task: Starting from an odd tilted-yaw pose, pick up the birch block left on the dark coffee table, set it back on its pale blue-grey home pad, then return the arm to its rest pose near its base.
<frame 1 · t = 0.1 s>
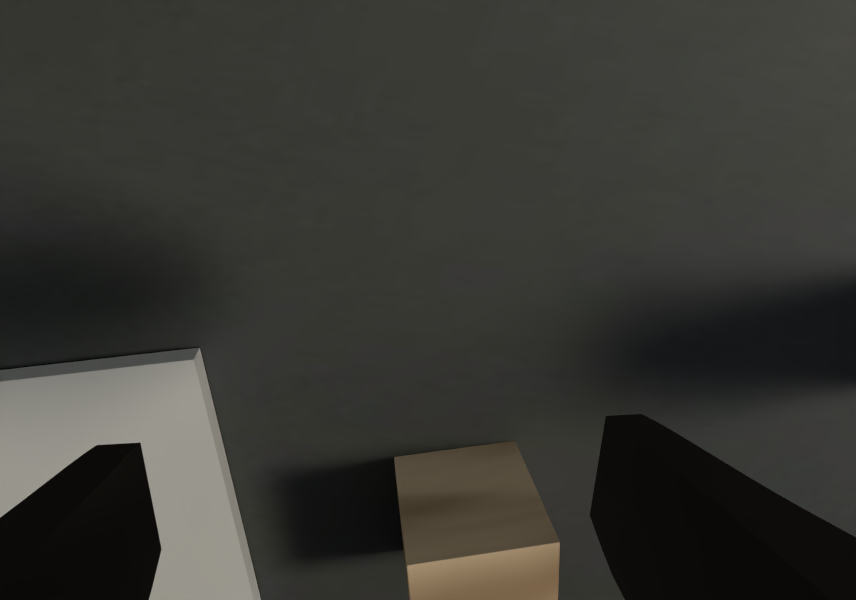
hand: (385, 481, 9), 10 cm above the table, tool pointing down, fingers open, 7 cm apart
birch block: (457, 496, 22), on the table
home pad: (59, 520, 20), on the table
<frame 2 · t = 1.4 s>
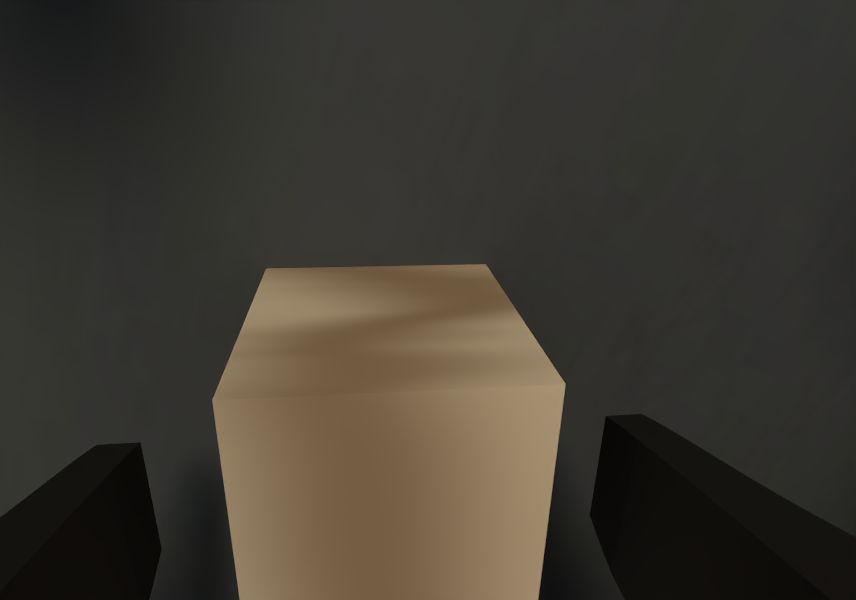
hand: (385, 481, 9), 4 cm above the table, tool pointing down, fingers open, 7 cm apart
birch block: (379, 362, 13), on the table
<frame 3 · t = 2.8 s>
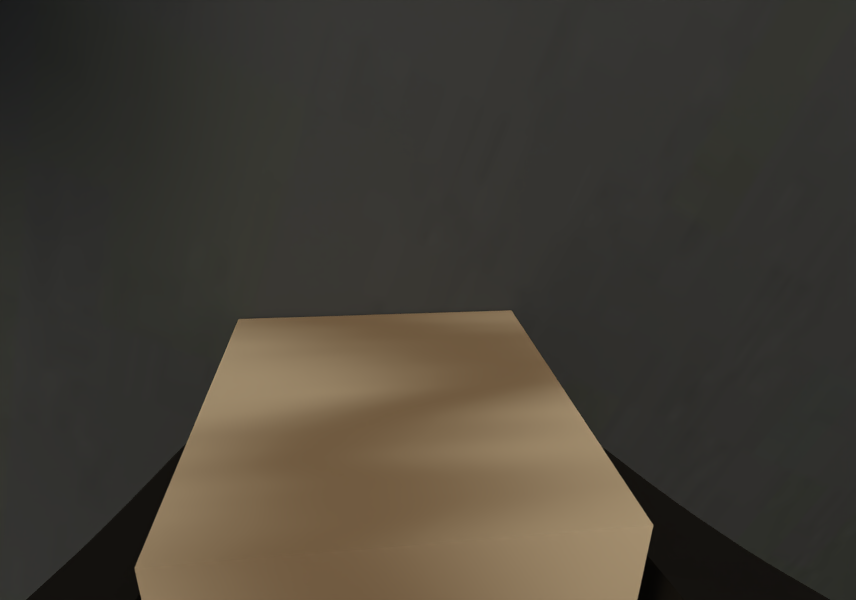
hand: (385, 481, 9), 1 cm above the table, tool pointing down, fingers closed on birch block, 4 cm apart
birch block: (380, 429, 10), on the table, touching gripper
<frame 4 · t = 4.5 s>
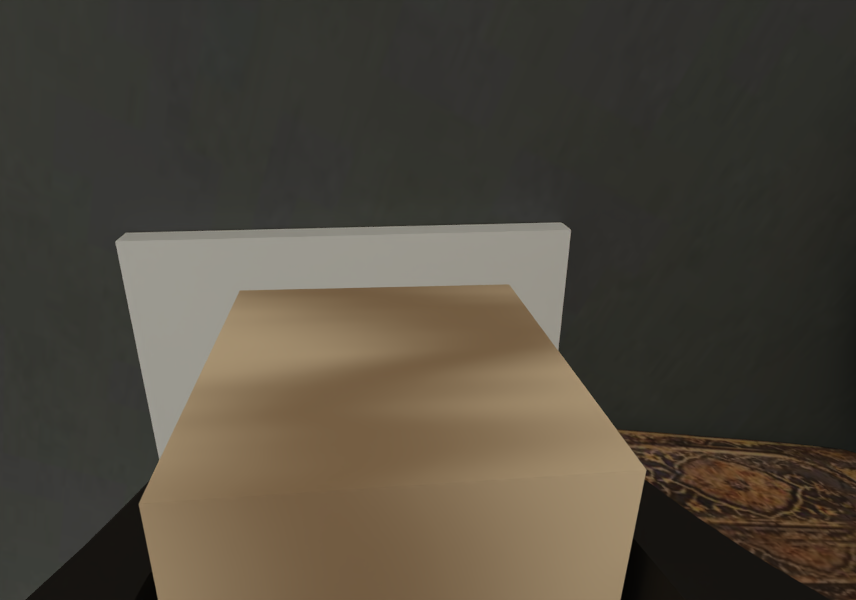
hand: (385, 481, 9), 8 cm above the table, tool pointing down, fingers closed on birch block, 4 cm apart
birch block: (379, 403, 11), point 7 cm above the table, touching gripper
book: (640, 494, 21), on the table, touching home pad
home pad: (360, 411, 18), on the table
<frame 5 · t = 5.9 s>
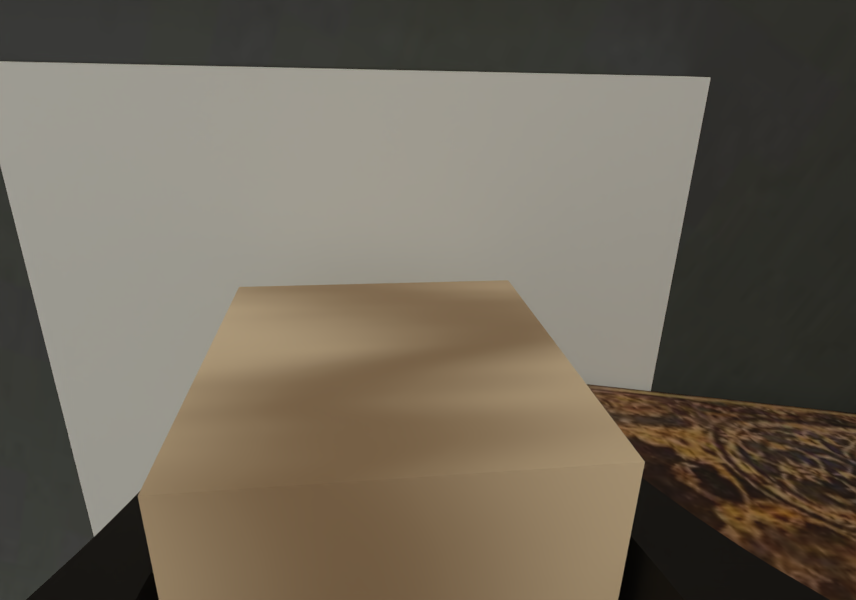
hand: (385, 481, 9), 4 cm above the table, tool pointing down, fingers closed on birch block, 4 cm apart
birch block: (378, 399, 11), point 2 cm above the table, touching gripper
book: (759, 494, 15), on the table, touching arm, home pad
home pad: (374, 368, 13), on the table
when the fingers open (4 cm above the table, at t = 6.6 s): birch block stays where it is, resting on book, home pad.
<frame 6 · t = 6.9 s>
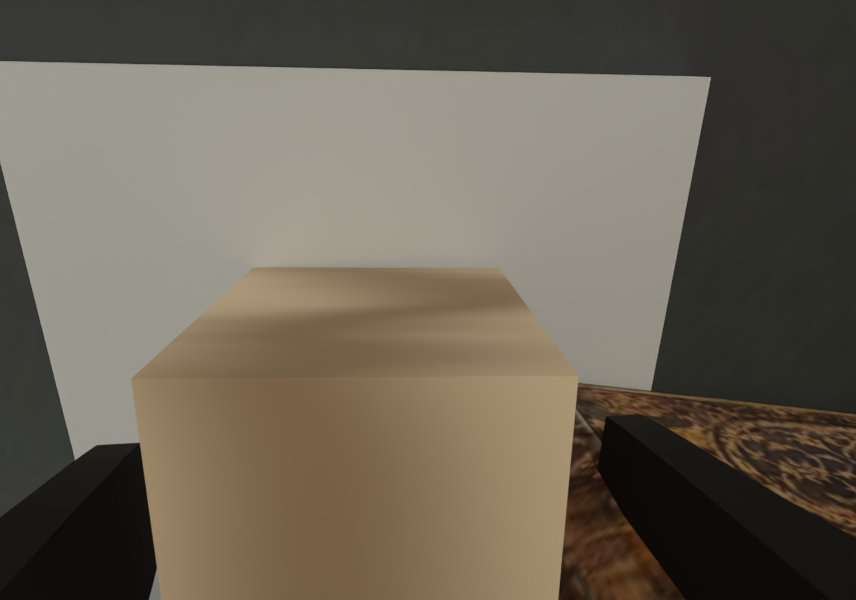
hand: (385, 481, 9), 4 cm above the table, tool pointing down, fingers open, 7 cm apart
birch block: (378, 380, 11), point 1 cm above the table, tilted 8°, touching book, home pad
book: (759, 493, 15), on the table, touching arm, birch block, home pad
home pad: (374, 367, 13), on the table
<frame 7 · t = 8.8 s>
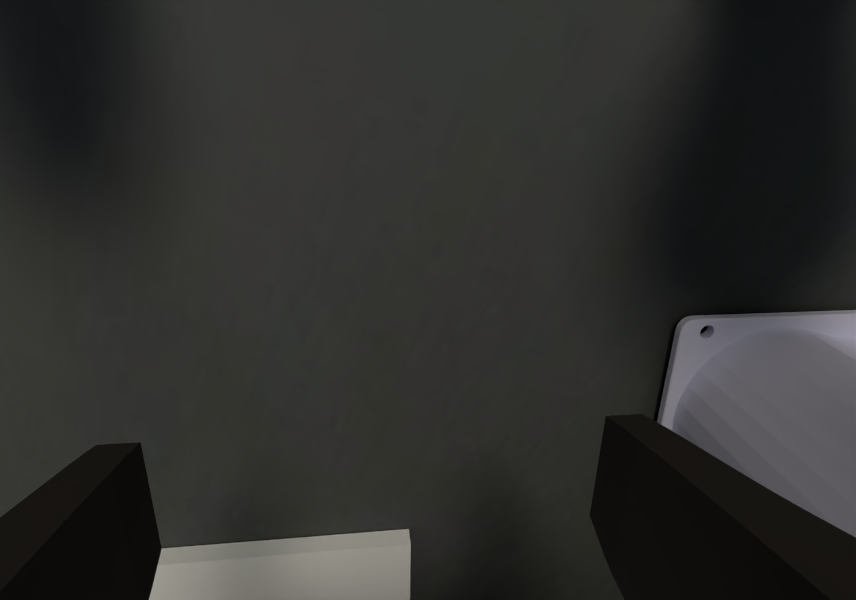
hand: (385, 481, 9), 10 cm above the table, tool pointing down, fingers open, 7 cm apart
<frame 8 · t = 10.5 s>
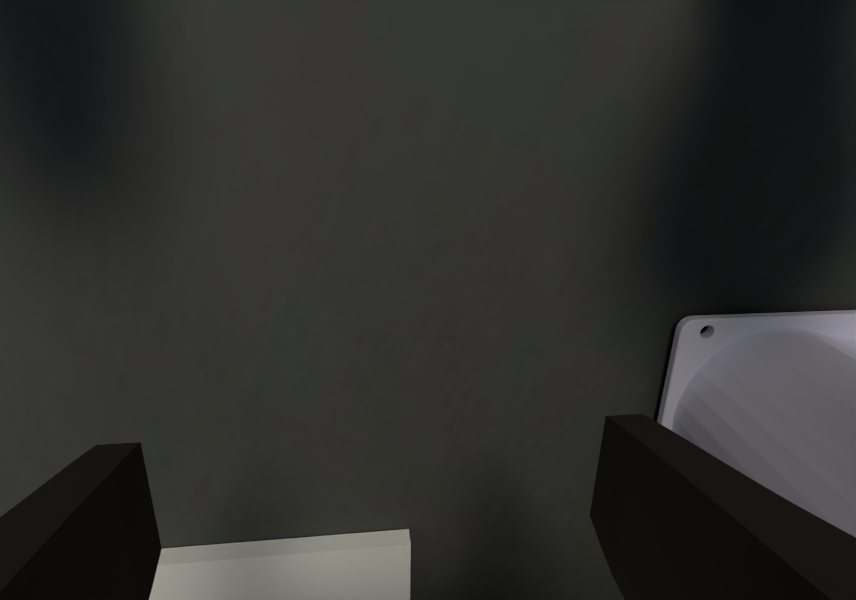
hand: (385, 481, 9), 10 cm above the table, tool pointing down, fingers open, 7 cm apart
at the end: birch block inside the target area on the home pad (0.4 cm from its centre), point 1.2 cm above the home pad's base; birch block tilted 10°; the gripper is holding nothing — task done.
